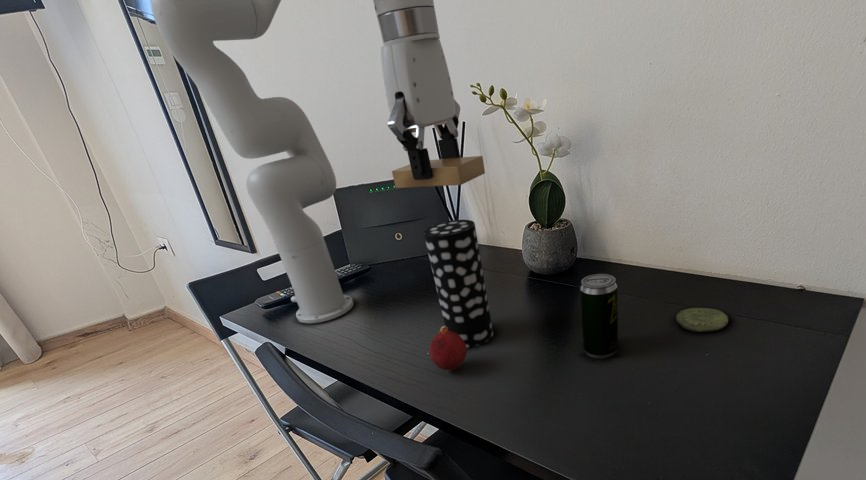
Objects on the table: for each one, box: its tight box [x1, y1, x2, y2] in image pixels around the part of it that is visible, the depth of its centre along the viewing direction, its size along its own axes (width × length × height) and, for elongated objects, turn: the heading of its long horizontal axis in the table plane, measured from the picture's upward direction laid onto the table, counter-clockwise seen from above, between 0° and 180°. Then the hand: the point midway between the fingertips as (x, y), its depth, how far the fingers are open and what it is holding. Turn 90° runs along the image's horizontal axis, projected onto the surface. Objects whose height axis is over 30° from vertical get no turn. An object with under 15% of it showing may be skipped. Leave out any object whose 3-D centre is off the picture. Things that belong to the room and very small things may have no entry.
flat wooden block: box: [391, 155, 486, 189], centre depth 70 cm, size 12×7×2 cm, turn 61°
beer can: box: [579, 273, 619, 359], centre depth 72 cm, size 5×5×12 cm
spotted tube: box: [423, 219, 494, 349], centre depth 80 cm, size 8×8×20 cm
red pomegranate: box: [429, 325, 468, 372], centre depth 74 cm, size 6×6×8 cm
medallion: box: [675, 307, 729, 333], centre depth 77 cm, size 8×8×1 cm
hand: (438, 171), depth 70 cm, fingers closed on flat wooden block, 7 cm apart
